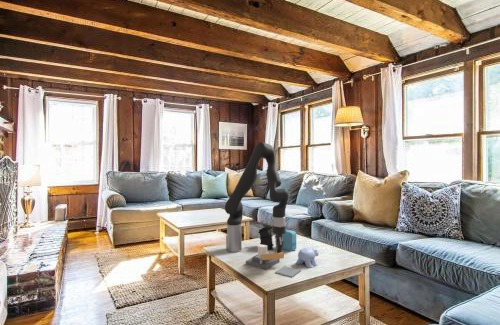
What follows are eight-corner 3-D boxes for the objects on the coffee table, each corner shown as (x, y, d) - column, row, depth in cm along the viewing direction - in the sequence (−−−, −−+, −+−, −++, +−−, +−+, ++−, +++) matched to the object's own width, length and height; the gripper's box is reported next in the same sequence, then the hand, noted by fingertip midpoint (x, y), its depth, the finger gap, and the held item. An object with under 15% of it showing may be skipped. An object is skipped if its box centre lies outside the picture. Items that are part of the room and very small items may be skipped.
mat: (275, 273, 152) (275, 271, 152) (284, 267, 160) (284, 265, 160) (292, 277, 146) (292, 276, 146) (301, 271, 154) (301, 269, 154)
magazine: (271, 249, 185) (265, 226, 190) (261, 252, 196) (256, 230, 201) (276, 248, 187) (270, 225, 192) (266, 252, 197) (261, 230, 203)
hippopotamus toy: (324, 262, 166) (324, 246, 166) (307, 269, 156) (307, 252, 156) (309, 257, 174) (309, 242, 174) (292, 264, 165) (292, 247, 164)
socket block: (245, 264, 165) (245, 257, 164) (259, 257, 176) (259, 250, 176) (266, 269, 156) (266, 262, 156) (279, 262, 168) (279, 255, 168)
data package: (296, 249, 189) (296, 231, 189) (292, 251, 186) (292, 232, 186) (282, 245, 198) (282, 228, 197) (278, 247, 195) (277, 229, 194)
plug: (255, 260, 165) (255, 246, 165) (261, 257, 170) (261, 243, 170) (264, 262, 162) (264, 248, 162) (269, 259, 167) (269, 245, 167)
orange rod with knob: (259, 259, 160) (259, 254, 160) (283, 257, 163) (283, 252, 163) (259, 260, 159) (259, 255, 159) (284, 258, 161) (284, 253, 161)
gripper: (270, 221, 169) (270, 250, 170) (274, 227, 156) (274, 259, 157) (283, 221, 170) (283, 250, 171) (288, 227, 157) (287, 258, 158)
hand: (278, 254), depth 164 cm, fingers closed
